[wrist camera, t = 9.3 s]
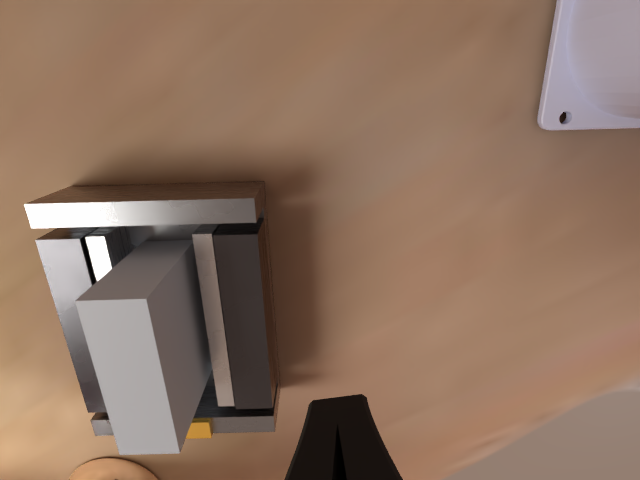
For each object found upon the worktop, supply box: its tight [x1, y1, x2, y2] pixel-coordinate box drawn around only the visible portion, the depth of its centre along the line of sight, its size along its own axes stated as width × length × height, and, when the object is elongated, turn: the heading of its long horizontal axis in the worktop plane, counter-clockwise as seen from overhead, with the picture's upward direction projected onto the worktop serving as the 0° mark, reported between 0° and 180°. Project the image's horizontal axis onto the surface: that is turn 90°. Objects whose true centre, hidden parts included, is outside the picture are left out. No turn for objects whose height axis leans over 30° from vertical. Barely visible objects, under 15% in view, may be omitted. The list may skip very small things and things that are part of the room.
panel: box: [75, 240, 212, 455], centre depth 17 cm, size 2×7×6 cm, turn 2°
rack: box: [24, 181, 280, 439], centre depth 19 cm, size 9×12×3 cm
